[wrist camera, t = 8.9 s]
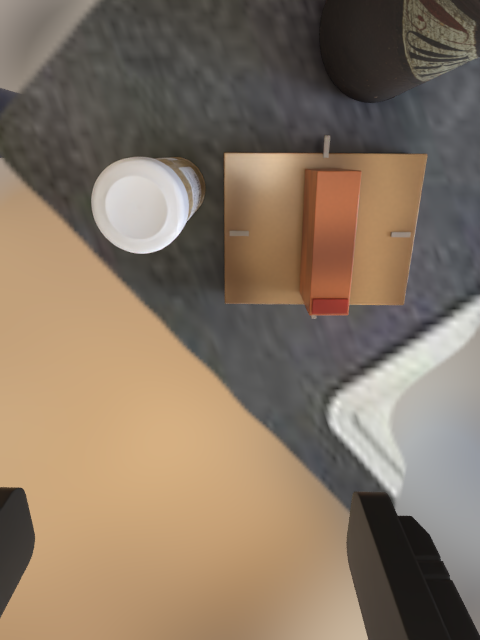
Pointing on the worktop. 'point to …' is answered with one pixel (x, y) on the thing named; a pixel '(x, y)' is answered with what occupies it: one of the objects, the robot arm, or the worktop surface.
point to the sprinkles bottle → (146, 201)
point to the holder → (328, 239)
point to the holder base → (287, 222)
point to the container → (395, 43)
